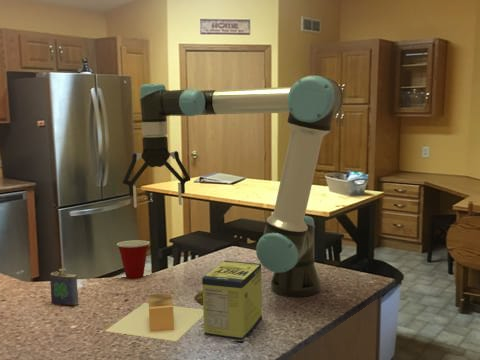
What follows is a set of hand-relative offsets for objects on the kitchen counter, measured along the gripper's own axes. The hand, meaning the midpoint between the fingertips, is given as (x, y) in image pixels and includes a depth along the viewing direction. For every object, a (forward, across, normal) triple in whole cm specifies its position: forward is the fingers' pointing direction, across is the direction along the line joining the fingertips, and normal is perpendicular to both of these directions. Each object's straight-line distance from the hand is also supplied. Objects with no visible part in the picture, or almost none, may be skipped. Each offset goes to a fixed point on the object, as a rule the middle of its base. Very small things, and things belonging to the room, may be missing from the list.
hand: (158, 205), depth 161 cm
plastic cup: (+27, +8, -15) cm, 32 cm away
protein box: (+27, -17, +34) cm, 47 cm away
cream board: (+27, +2, +27) cm, 38 cm away
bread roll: (+27, -16, +15) cm, 35 cm away
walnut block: (+23, +1, +24) cm, 33 cm away
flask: (+27, +29, +5) cm, 40 cm away
